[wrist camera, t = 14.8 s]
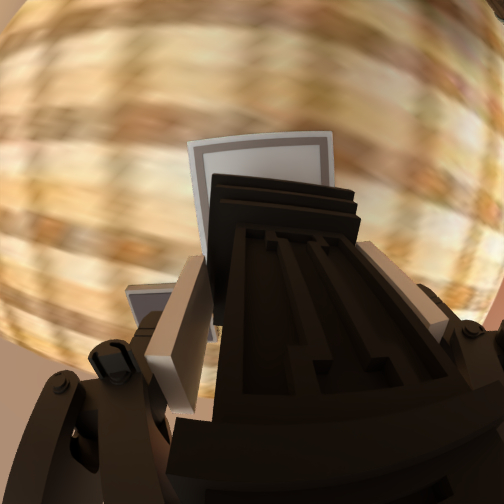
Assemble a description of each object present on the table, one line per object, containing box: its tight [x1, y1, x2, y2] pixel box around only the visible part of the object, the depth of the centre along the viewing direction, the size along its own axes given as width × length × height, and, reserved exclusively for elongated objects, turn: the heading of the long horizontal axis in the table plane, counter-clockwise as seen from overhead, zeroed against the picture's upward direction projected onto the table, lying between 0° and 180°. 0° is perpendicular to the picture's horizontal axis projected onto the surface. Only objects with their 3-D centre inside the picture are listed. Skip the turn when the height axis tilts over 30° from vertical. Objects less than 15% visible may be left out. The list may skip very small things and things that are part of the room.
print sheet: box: [187, 131, 335, 265], centre depth 26 cm, size 14×14×1 cm
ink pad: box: [125, 283, 219, 343], centre depth 31 cm, size 8×10×2 cm
